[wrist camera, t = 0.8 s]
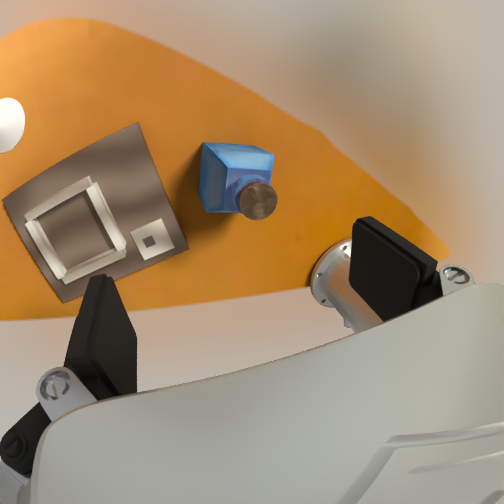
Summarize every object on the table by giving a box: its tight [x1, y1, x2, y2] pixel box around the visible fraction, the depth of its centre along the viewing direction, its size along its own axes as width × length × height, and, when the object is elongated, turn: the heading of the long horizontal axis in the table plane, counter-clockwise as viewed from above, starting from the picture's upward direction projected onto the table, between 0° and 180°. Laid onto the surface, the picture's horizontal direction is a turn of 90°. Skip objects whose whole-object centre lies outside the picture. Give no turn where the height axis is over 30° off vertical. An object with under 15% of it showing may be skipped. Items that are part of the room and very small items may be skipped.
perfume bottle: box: [198, 142, 277, 220], centre depth 29 cm, size 6×6×12 cm
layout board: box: [2, 122, 189, 303], centre depth 30 cm, size 16×19×3 cm
